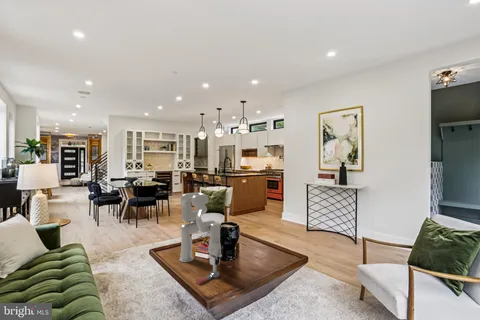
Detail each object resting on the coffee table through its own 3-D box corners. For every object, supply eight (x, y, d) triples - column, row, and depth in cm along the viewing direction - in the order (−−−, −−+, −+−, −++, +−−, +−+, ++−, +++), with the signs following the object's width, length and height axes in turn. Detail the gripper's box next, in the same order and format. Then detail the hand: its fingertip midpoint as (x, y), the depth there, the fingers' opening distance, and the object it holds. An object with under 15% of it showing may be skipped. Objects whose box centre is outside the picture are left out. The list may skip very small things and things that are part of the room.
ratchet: (194, 282, 181) (194, 270, 180) (214, 273, 195) (215, 262, 195) (200, 285, 176) (200, 273, 176) (221, 276, 191) (221, 265, 190)
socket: (209, 263, 190) (209, 256, 190) (214, 261, 194) (215, 254, 194) (214, 265, 186) (214, 258, 186) (219, 263, 190) (219, 256, 190)
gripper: (204, 238, 193) (203, 261, 193) (219, 243, 182) (218, 268, 182) (211, 236, 199) (211, 258, 199) (226, 240, 187) (226, 264, 187)
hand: (214, 262), depth 190 cm, fingers closed on socket, 5 cm apart
